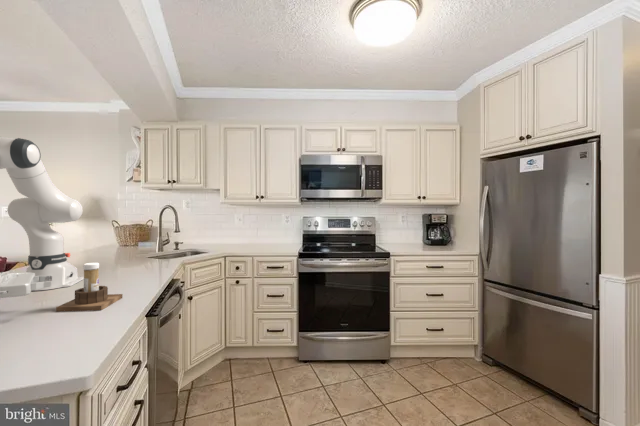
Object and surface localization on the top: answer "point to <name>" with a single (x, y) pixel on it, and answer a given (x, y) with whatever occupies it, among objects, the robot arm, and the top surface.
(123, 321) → the top surface
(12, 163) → the robot arm
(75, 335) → the top surface
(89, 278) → the sprinkles bottle
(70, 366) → the top surface
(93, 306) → the walnut collar block
